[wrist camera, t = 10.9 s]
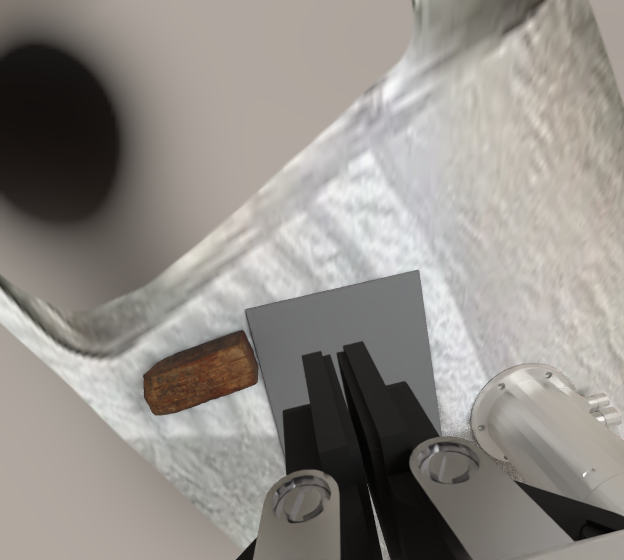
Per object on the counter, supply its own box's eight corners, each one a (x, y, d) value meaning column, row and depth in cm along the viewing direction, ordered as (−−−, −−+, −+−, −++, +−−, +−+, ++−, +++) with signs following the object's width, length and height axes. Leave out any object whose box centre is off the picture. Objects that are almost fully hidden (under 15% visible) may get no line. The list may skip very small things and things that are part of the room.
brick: (260, 366, 46) (243, 327, 45) (259, 384, 42) (241, 342, 41) (164, 400, 46) (145, 362, 45) (155, 421, 42) (134, 380, 41)
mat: (417, 269, 45) (419, 270, 45) (441, 439, 51) (442, 441, 51) (245, 309, 44) (245, 310, 44) (290, 476, 51) (290, 478, 50)
